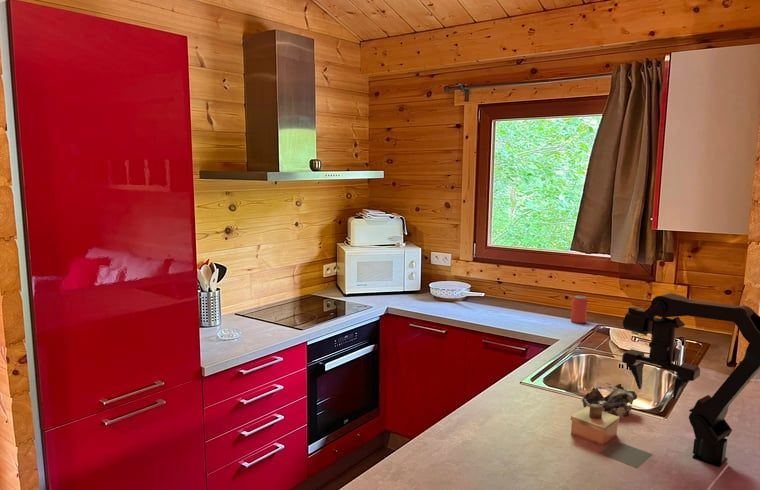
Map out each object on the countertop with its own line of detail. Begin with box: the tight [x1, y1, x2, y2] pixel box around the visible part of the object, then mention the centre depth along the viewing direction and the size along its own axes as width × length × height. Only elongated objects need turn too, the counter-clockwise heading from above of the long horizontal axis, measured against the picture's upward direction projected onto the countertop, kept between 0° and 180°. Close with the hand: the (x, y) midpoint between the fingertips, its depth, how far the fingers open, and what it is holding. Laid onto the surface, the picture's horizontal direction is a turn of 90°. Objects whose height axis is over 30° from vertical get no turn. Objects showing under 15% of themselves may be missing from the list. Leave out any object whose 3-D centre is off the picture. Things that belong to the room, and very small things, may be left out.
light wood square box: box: [570, 420, 619, 447], centre depth 162 cm, size 9×9×4 cm
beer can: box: [570, 294, 588, 325], centre depth 271 cm, size 7×7×12 cm
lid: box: [570, 404, 621, 432], centre depth 161 cm, size 10×10×4 cm
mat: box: [598, 439, 653, 469], centre depth 152 cm, size 10×10×1 cm
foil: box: [581, 382, 638, 417], centre depth 176 cm, size 12×11×15 cm
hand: (656, 393), depth 161 cm, fingers open, 9 cm apart
